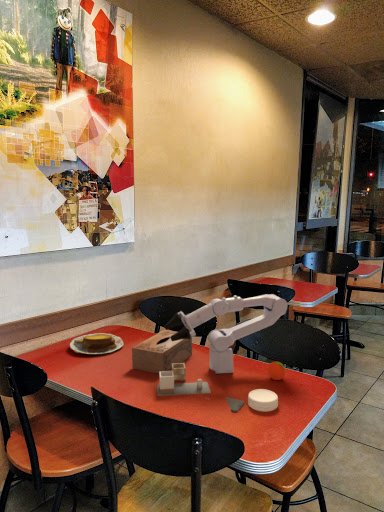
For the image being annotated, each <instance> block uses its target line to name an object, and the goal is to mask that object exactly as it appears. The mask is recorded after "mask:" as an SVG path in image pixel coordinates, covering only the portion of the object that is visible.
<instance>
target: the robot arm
mask: <svg viewBox="0 0 384 512" xmlns="http://www.w3.org/2000/svg"><path fill="white" fill-rule="evenodd" d="M258 306H259V307H260V306H263V313H262V314H261V315H259V316H256V317H253V318H252V319H249V320H246V321H244V322H241V323H240V324H236V325H234V326H232V327H229V328H221V329H213V330H211V331H210V332H209V333H208V336H207V341H208V342H209V343H210V346H209V369H210V370H211V371H214V372H215V374H232V373H234V352H233V349H232V348H231V346H233V345H234V343H235V342H236V341H237V340H239V339H240V340H241V338H244V337H246V336H249V335H251V334H253V333H256V332H259V331H261V330H264V329H266V328H268V327H271V326H272V325H274V324H275V323H276V322H277V321H278V320H279V318H281V316H283V315H286V313H287V310H288V301H286V299H284V298H281V297H279V296H277V295H276V294H274V293H271V294H268V293H267V294H266V293H265V294H261V295H257V296H253V297H252V296H251V297H247V298H242V297H241V296H238V295H233V296H232V297H227V298H226V297H222V298H221V299H220V298H212V299H211V300H209V303H207V304H206V305H205V304H204V305H203V306H202V307H200V308H198V309H196V310H194V311H192V312H191V313H187V314H185V313H184V312H183V311H182V310H180V311H179V312H175V313H174V315H172V317H171V318H170V320H169V321H167V322H166V323H165V324H164V325H163V328H164V330H170V329H172V328H175V327H177V326H182V328H181V329H180V330H178V331H176V332H177V333H175V334H174V335H172V336H171V337H170V338H171V340H172V341H176V340H181V339H191V338H190V336H191V337H192V338H193V337H195V336H197V334H196V332H195V330H194V328H196V327H198V326H201V325H202V324H204V323H206V322H207V321H210V320H211V319H213V318H214V317H217V316H224V315H226V313H234V312H239V311H240V312H241V311H243V309H244V308H249V307H258ZM183 325H184V326H183Z"/></svg>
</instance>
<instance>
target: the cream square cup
mask: <svg viewBox="0 0 384 512" xmlns="http://www.w3.org/2000/svg"><path fill="white" fill-rule="evenodd" d="M174 384H175V381H174V374H173V371H172V370H168V371H159V385H160V393H173V392H174Z"/></svg>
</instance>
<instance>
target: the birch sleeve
mask: <svg viewBox="0 0 384 512" xmlns="http://www.w3.org/2000/svg"><path fill="white" fill-rule="evenodd" d="M171 371H173V374H174V382H186V380H187V379H186V378H187V377H186V375H187V374H186V373H187V371H186V364H185V362H182V363H175V364H172V368H171Z"/></svg>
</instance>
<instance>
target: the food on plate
mask: <svg viewBox="0 0 384 512" xmlns="http://www.w3.org/2000/svg"><path fill="white" fill-rule="evenodd" d="M124 345H125V344H124V341H123V339H122V337H120V336H117V335H114V334H112V333H106V332H105V333H104V332H102V333H101V332H99V333H89V334H85V335H81V336H78V337H77V336H76V337H75V338H73V339H72V341H71V342H70V343H69V348H70V350H72V351H73V352H74V353H76V354H87V355H102V353H104V354H107V353H109V354H110V353H113V352H115V351H116V350H120V349H122V347H123V346H124Z"/></svg>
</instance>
